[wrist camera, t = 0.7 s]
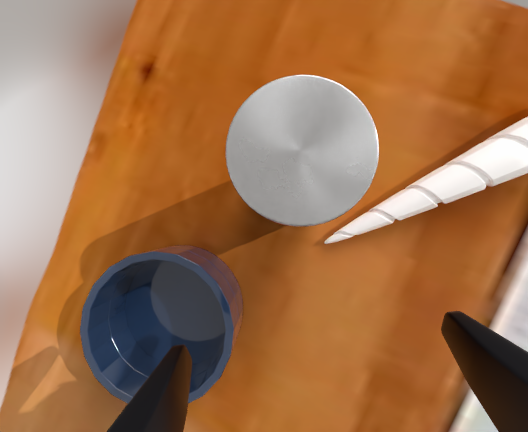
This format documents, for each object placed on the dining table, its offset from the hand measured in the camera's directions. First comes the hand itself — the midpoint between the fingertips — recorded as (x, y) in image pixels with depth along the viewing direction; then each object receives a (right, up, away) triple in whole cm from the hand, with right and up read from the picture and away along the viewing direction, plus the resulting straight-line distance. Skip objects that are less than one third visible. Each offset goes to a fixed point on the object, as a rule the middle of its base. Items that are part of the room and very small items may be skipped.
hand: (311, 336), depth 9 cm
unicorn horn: (+15, +7, +13) cm, 21 cm away
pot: (-9, -4, +14) cm, 17 cm away
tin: (+1, +6, +14) cm, 15 cm away
